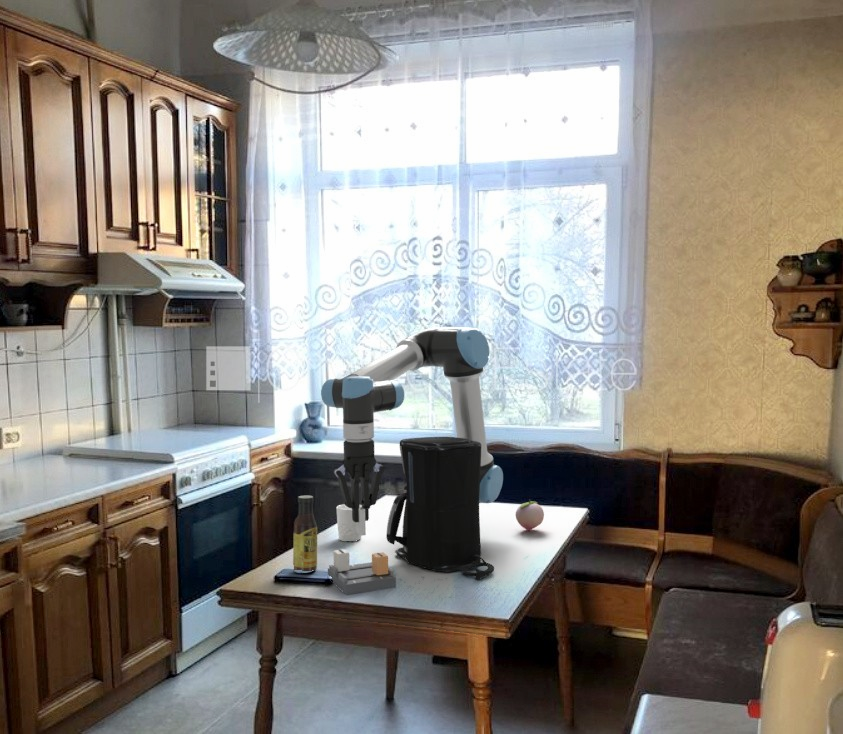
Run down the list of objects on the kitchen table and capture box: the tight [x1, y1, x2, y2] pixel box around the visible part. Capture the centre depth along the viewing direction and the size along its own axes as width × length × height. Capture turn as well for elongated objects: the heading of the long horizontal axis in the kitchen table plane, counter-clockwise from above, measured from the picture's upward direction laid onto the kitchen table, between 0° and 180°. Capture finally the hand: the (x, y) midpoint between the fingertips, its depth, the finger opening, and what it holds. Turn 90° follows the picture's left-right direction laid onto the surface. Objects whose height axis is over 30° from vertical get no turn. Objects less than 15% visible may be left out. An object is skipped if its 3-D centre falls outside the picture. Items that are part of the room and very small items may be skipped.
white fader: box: [332, 548, 350, 572], centre depth 202 cm, size 4×3×5 cm
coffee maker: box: [385, 436, 495, 581], centre depth 218 cm, size 23×32×34 cm
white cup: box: [336, 503, 362, 542], centre depth 241 cm, size 8×8×10 cm
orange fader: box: [371, 552, 389, 575], centre depth 199 cm, size 4×3×5 cm
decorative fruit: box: [515, 498, 545, 532], centre depth 249 cm, size 9×8×10 cm
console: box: [327, 561, 397, 596], centre depth 201 cm, size 14×13×4 cm
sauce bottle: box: [292, 494, 318, 571], centre depth 210 cm, size 7×6×20 cm
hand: (360, 534), depth 197 cm, fingers closed
